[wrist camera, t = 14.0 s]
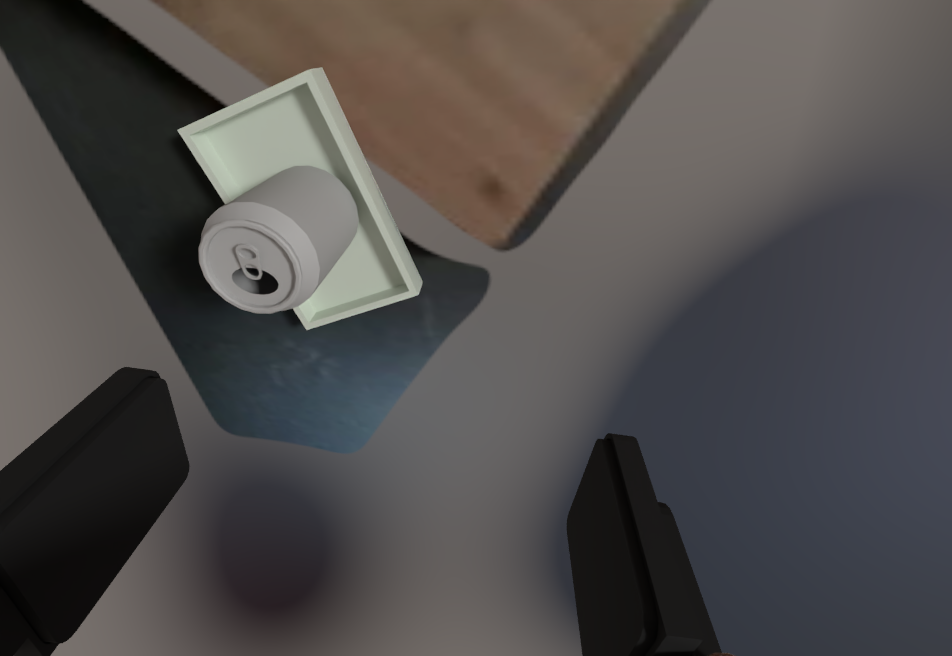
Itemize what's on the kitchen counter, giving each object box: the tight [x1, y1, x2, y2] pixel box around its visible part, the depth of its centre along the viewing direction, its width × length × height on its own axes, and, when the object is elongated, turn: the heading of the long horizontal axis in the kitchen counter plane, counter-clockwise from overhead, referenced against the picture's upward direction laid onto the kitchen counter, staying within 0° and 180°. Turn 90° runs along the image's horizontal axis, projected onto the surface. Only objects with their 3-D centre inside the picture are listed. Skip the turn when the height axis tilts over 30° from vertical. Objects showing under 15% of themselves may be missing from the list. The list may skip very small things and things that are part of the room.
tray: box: [177, 67, 423, 330], centre depth 38 cm, size 18×11×2 cm, turn 20°
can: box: [199, 166, 359, 313], centre depth 33 cm, size 8×8×12 cm
